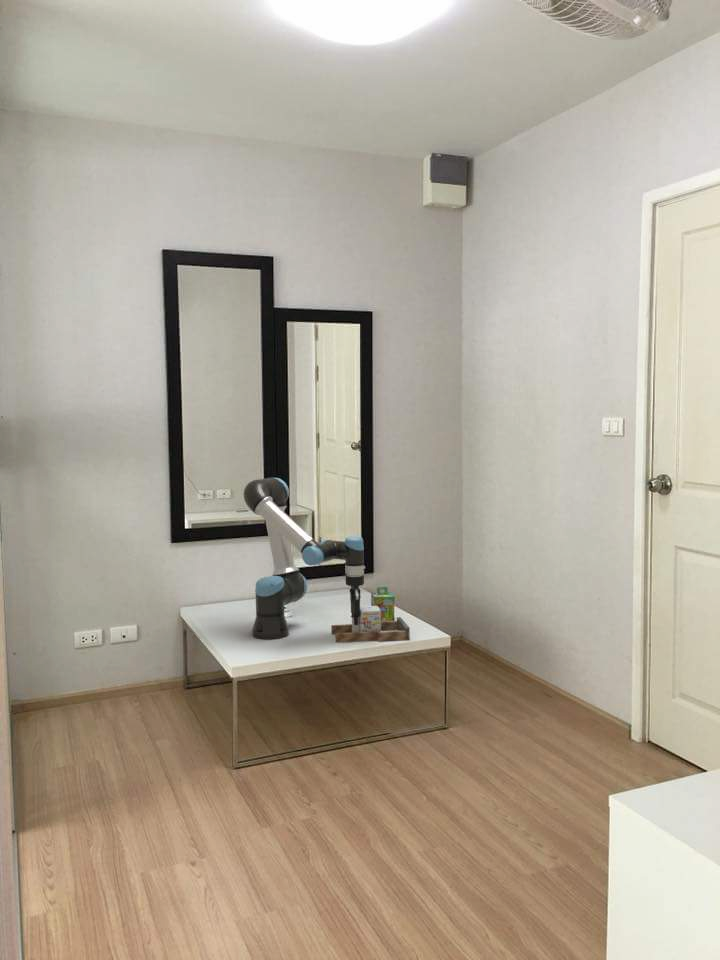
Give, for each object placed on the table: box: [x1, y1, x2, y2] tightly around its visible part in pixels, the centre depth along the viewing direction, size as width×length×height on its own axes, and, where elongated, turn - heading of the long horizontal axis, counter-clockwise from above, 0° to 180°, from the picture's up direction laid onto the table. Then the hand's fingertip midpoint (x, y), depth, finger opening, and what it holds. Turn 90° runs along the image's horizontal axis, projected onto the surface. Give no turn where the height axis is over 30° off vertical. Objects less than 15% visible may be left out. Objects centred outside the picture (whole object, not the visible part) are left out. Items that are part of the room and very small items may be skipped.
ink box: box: [359, 605, 382, 632], centre depth 334 cm, size 9×9×12 cm
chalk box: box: [370, 586, 395, 622], centre depth 359 cm, size 9×9×15 cm
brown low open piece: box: [330, 616, 411, 644], centre depth 335 cm, size 30×17×5 cm, turn 100°
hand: (355, 631), depth 334 cm, fingers closed
